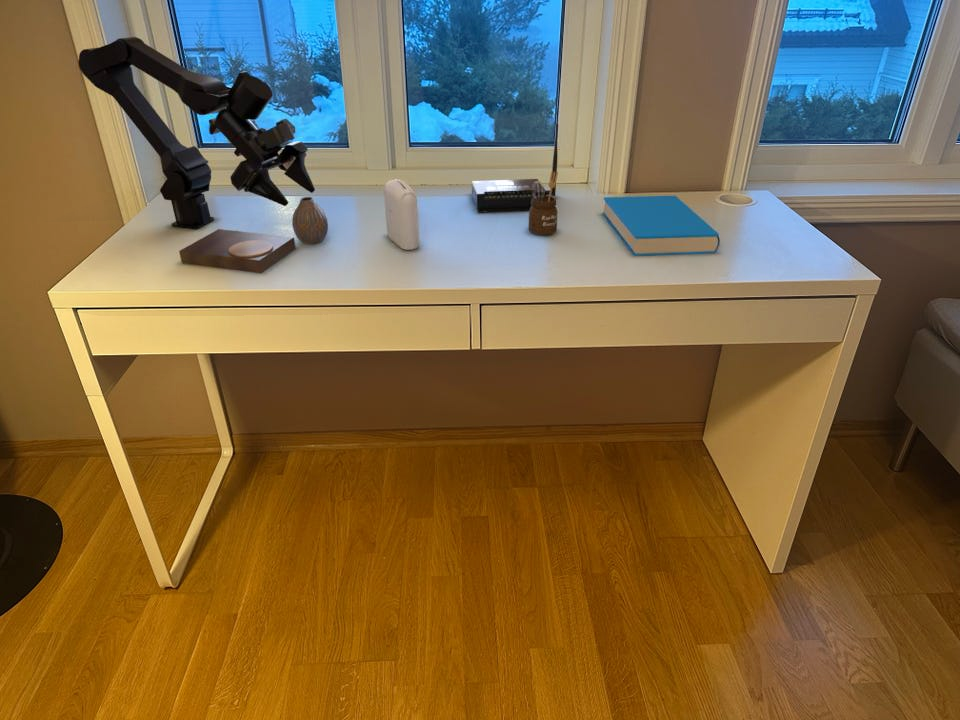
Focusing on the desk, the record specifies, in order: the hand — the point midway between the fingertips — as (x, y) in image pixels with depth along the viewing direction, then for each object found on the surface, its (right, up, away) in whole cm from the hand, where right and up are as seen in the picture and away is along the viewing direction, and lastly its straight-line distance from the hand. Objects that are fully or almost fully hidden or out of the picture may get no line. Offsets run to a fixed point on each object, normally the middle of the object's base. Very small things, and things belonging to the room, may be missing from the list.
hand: (300, 197), depth 134 cm
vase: (+1, -8, +4) cm, 9 cm away
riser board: (-11, -12, -3) cm, 16 cm away
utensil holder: (+49, -5, +9) cm, 50 cm away
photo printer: (+20, -8, +4) cm, 22 cm away
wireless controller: (+44, +5, +26) cm, 52 cm away
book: (+72, -5, +9) cm, 73 cm away
